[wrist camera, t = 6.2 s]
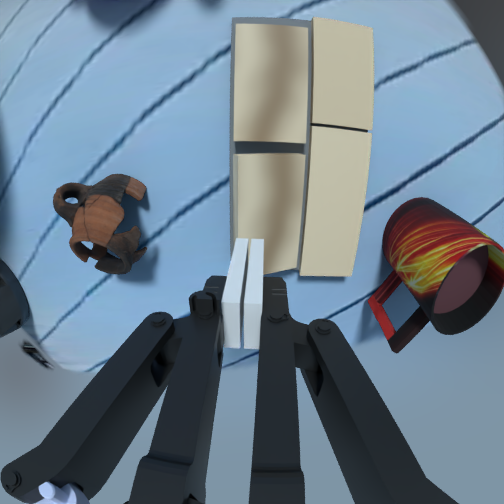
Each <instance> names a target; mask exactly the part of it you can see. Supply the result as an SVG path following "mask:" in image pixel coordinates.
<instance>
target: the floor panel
mask: <svg viewBox="0 0 504 504" xmlns="http://www.w3.org/2000/svg"><path fill="white" fill-rule="evenodd" d="M236 24H272V25H286V26H297V27H305V28H308V101H307V129H306V143H290V142H266V141H234V74H235V34H236ZM373 105H374V45H373V28H370V27H366V26H362V25H358V24H353V23H348V22H343V21H338V20H332V19H326V18H319V17H313V18H312V20H311V21H308V20H298V19H286V18H265V17H236V18H232V36H231V74H230V250H231V258H232V254H233V250H234V242H233V154H261V153H299V154H303V155H306V156H305V173H304V188H303V202H302V214H301V226H300V237H299V247H298V257H297V267H296V268H292V269H288V270H299V273H300V276H352V271H353V266H354V261H355V256H356V251H357V246H358V241H359V235H360V229H361V223H362V217H363V210H364V204H365V196H366V189H367V181H368V172H369V163H370V152H371V140H372V133H367V132H368V130H372V126H373Z"/></svg>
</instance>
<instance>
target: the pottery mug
mask: <svg viewBox="0 0 504 504" xmlns="http://www.w3.org/2000/svg"><path fill="white" fill-rule="evenodd" d="M145 191H146V186H145V185H144V184H143V183H141V182H140V181H138V180H137V179H134V178H132V177H130V176H127V175H123V174H112V175H110V176H108V177H106V178H105V179H103V180H102V181H100V182H98V183H97V184H95V185H93V186H92V185H91V186H86V185H83V184H79V183H67V184H64V185H63V186H61V187H60V188H58V189H57V191H56V193H55V194H54V197H53V205H54V209H55V211H56V212H57V213H58V214H59V215H60V216H61V217H62V218H64V219H65V220H66V221H67V222H68V223H69V225H70V227H72V237H71V239H70V241H69V244H70V247H71V249H72V251H73V252H74V253H75V255H76V256H77V257H78V258H80V259H81V260H82V261H84V262H87V260H88V258H89V257H92V258H93V259H96V260H98V262H97V263H96V265H95V268H96V269H98V270H100V271H103V272H106V273H110V274H126V273H128V272H130V270H131V267H132V264H133V263H135V262H137V261H138V260H139V259H140V258H141V257H142V256H143V255H144V253H145V252H146V250H147V247H144V248H142V249H141V250H137V247H138V245H139V238H140V237H141V232H140V230H139V228H138V227H137V226H134V227H133V228H132V229H131V230H130V231H127V232H124V233H118V234H114V232H115V230H116V229H117V227H118V226H119V224H120V223H121V221H122V220H123V219H124V209H123V208H122V206H120V204H121V201H122V197H123V195H124V193H126V194H128V195H130V196H132V197H134V198H135V199H137V200H138V201H141V200H142V199H143V197H144V193H145ZM71 197H74V198H76V199H78V203H76V204H71V203H67V202H66V201H65V199H67V198H71ZM81 241H88V242H89V241H91V242H92V243H93V248H92V250H90V249H89V248H87V247H86V246H85V245H84V244H82V243H81ZM107 248H108V249H109V250H110V251H112V252H114V253H115V254H116V255H117V256H119V257H120V259H119V258H117V257H115V256H113V255H111V254H110V253H108V252H107ZM136 250H137V251H136Z"/></svg>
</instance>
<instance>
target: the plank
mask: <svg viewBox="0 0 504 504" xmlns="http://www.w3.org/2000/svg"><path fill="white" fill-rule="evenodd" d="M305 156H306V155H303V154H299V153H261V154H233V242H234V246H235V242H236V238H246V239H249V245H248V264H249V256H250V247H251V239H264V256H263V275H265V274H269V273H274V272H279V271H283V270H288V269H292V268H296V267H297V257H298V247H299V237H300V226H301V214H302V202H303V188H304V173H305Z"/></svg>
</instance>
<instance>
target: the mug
mask: <svg viewBox="0 0 504 504" xmlns="http://www.w3.org/2000/svg"><path fill="white" fill-rule="evenodd" d="M382 241H383V252H384V255H385V257H386V260H387V261H388V262H389V264H390V265H391V266H392V268H393V269H394V270H393V271H392V273H391V274H390V275H389V276H388V278H387V279H386V280H385V281H384V282H383V284H382V285H381V286H380V287H379V289H378V290H377V291H376V292H375V293H374V294H373V295H372V296H371V297H370V299H369V300H368V303H369V305H370V307H371V309H372V311H373V313H374V315H375V317H376V319H377V321H378V322H379V324H380V326H381V328H382V330H383V332H384V334H385V337H386V339H387V341H388V343H389V345H390V347H391V350H392V351H393V352H395V353H398V352H399V351H401V350H402V349H403V348H404V347H405V346H406V345H407V344H408V343H409V342H410V341H411V340H412V339H413V338H414V337H415V336H416V335H417V334H418V333H419V332H420V331H421V330H422V329H423V327H424V326H425V325H426V324H427V323H428V322H429V321H431V323H432V324H433V326H434V327H435V329H436V330H437V331H438V332H440V333H442V334H445V335H453V334H458V333H461V332H463V331H466V330H467V329H469V328H471V327H472V326H474V325H475V324H476V323H478V322H479V321H480V320H481V319H482V318H483V317H484V316H485V315H486V314H487V313H488V312H489V311H490V309H491V308H492V307H493V305H494V304H495V302H496V301H497V299H498V297H499V296H500V294H501V292H502V289H503V287H504V249H503V247H501V246H500V245H499V244H498V243H497V242H495V241H494V240H493V239H491V238H490V237H489V236H487V235H486V234H485V233H483V232H482V231H480V230H479V229H477V228H476V227H475V226H473V225H472V224H470V223H469V222H467V221H466V220H464V219H463V218H461V217H460V216H458V215H456V214H455V213H453V212H452V211H450V210H449V209H447V208H445V207H444V206H442V205H440V204H439V203H437V202H435V201H434V200H431V199H429V198H423V197H420V198H414V199H411V200H409V201H407V202H405V203H404V204H402V205H401V206H400V207H398V208H397V209H396V210H395V212H394V213H393V214H392V215H391V217H390V219H389V220H388V222H387V224H386V227H385V230H384V234H383V240H382ZM402 281H403V282H404V284H405V285H406V286H407V288H408V289H409V291H410V292H411V293H412V295H413V296H414V298H415V299H416V301H417V302H418V303H419V305H420V306H419V308H418V309H417V310H416V311H415V312H414V313H413V314H412V316H411V317H410V318H409V319H408V320H407V321H406V322H405V323H404V324H403V325H402V326H401V327H400V328H399V329H398V331H397V332H396V331H395V329H394V327H393V325H392V323H391V322H390V320H389V318H388V316H387V314H386V312H385V310H384V308H383V307H382V305H383V303H384V302H385V301H386V300H387V299H388V298H389V296H390V295H391V294H392V293H393V292H394V291H395V289H396V288H397V287H398V286H399V284H400V283H401V282H402Z"/></svg>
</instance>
